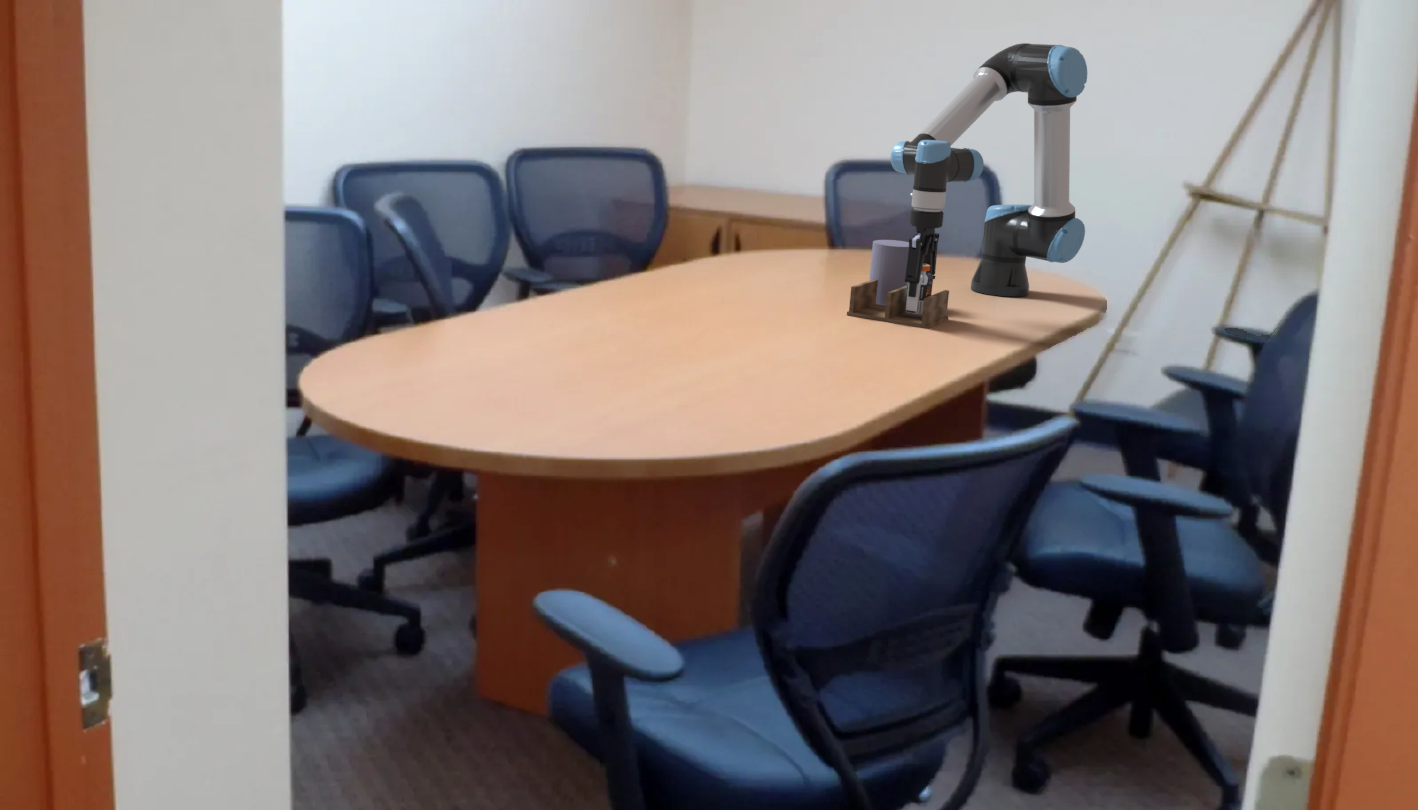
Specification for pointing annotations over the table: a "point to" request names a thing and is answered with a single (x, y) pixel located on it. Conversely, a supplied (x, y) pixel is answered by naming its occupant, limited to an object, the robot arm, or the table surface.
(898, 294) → the rack
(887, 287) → the container
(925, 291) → the pill bottle
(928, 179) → the robot arm
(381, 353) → the table surface
